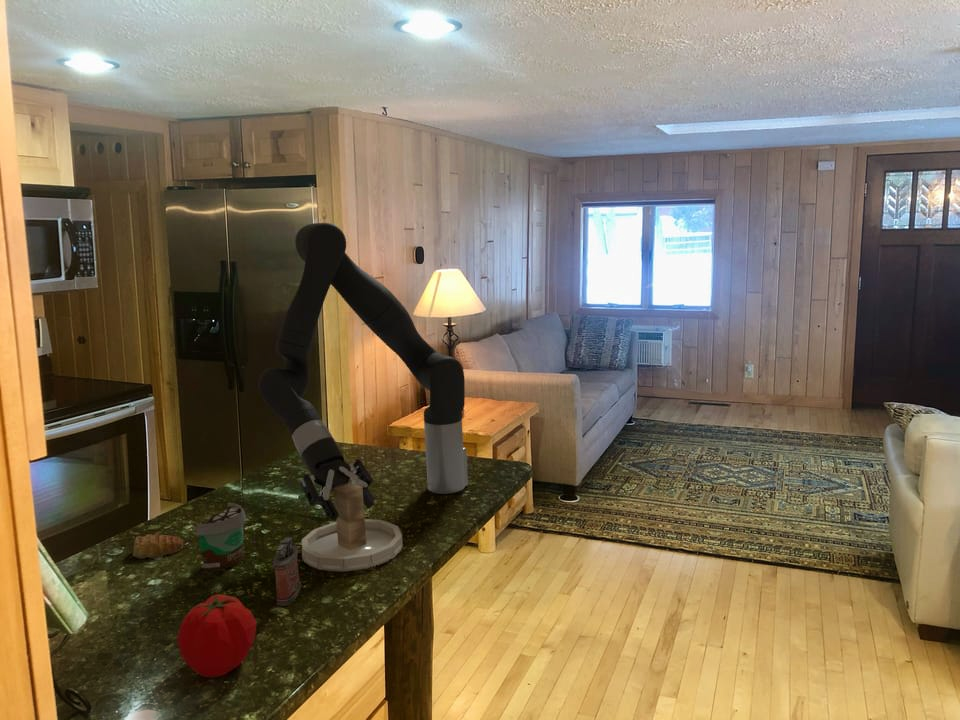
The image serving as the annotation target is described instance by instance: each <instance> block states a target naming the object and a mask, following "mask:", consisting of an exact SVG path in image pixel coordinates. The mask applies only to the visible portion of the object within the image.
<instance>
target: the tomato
mask: <svg viewBox="0 0 960 720" xmlns="http://www.w3.org/2000/svg"><path fill="white" fill-rule="evenodd" d="M178 629H179V630H178V633H177V638H176V639H177V647H178V650H179V653H180V655H181V657H182V658H183V661H184V663H186V664H187V666H188V667H190V669H192V671H193V672H195V673H197V674H198V675H200V677H203V678H204V677H205V678H219V677H222V676H225V675H227V674H228V673H230V672H231V671H233V670H234V669H235V668H237V667H239V666H240V665H241V664H242V662H243V661H244V659H246V657H247V656H248V655H249V653H250V651H251V650H252V649H251V648H252V646H253V644H254V641H255V638H256V634H257V633H256V632H257V620H256V618H255V617H254V615H253V613H252V612H251V610H250V609H248V608H247V607H245V606H244V605H243V603H242V602H241V601H240V600H239V598H237V597H235V596H231V595H224V594H218V593H217V594H215V595H214V594H213V595H211V596H210V597H209V598H208V599H207V600H206V601H205V602H200V603H199V604H196V605H195V606H193V607H191V609H190V610H189V611H188V613H186V615H185V616H184V618H183V620H182V622H181V624H180V626H179V628H178Z"/></svg>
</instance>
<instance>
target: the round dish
mask: <svg viewBox="0 0 960 720" xmlns="http://www.w3.org/2000/svg"><path fill="white" fill-rule="evenodd" d="M365 532H366V544H365V545H362V546H360V547H357V548H355V549H352V550H348V549H346V548H344V547H342V546H339V545H338V534H337V521H332V522H331V523H328V524H325V525H321V526H320V527H317V528H314V529H313V530H311V531H310V532H309V533H307V534H306V535H305V536H304V537H302V539H301V547H302V548H301V558H302V560H303V562H304V563H305V564H306V565H308V566H309V567H312V568H314V569H317V570H321V571H328V572H343V573H344V572H350V571H351V572H352V571H359V570H360V571H361V570H365V569H370V567H371V568H374V567H377V566H379V565H382V564H385V563H387V562H388V561H390V559H391V560H392V559H394V558H395V557H397V556H398V555H399V554H400V552H401V551H402V549H403V547H404V545H403V534H402V531H401V529H400V528H399V526H398V525H396V524H393V523H391V522H388V521H386V520H384V519H383V520H382V519H372V518H371V519H370V518H365ZM398 553H399V554H398ZM397 554H398V555H397ZM396 555H397V556H396ZM376 565H377V566H376ZM373 566H374V567H373Z"/></svg>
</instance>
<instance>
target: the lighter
mask: <svg viewBox="0 0 960 720" xmlns="http://www.w3.org/2000/svg"><path fill="white" fill-rule="evenodd" d="M298 551H299V550H298V546H297V545H293V537H291V536H287V537H284V539H281V540H280V541H279V546H278V547H277V549H276V555H275V556H274V558H273V562H272V566H273V568H274V575H275V588H276V605H278V606H287V605H290V604H291V603H292V602H294V601H295V599H296V598H297V597H298V595H299V594H300V591H301V580H300V575H299V573H300V572H299V564H298V563H299V562H298Z"/></svg>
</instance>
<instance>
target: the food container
mask: <svg viewBox="0 0 960 720" xmlns="http://www.w3.org/2000/svg"><path fill="white" fill-rule="evenodd" d="M226 505H227V508H225V509H224V510H222V511H221V512H219V513H216V514H214V515H212V516H211V517H210V519H208V520H207V521H206V522H205V523H196V527H195V528H196V530H195V531H196V532H195V535H196V536H198V541H199V547H200V551H201V556H202V563H203V569H204V572H216V571H215V570H219V571H222V570H221V569H224V570H226V569H225V568H228V569H230V568H229V567H231V568H233V567H236V566H238V565H239V564H241V562H242V561H243V560H244V558H243V557H244V524H245V522H246V521H247V516H246V512H245V510H244V509H243V507H242V506H241V505H239V504H238V503H232V502H227V504H226ZM238 563H239V564H238ZM232 566H233V567H232ZM213 570H214V571H213Z"/></svg>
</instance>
